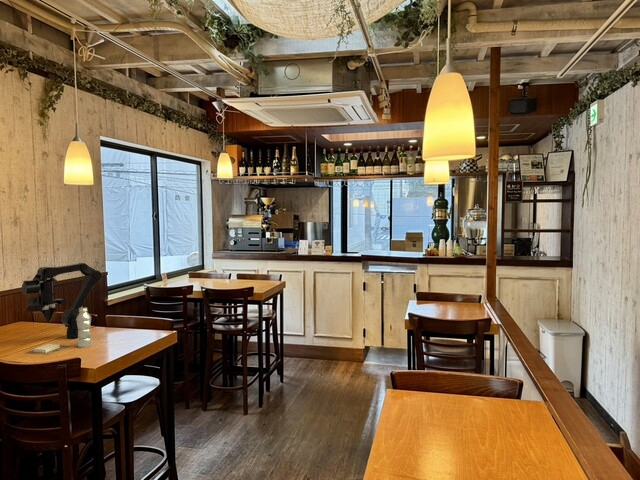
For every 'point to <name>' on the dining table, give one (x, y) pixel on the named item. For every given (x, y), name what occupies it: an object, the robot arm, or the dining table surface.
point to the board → (49, 351)
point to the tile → (46, 348)
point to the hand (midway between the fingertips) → (48, 321)
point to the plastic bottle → (84, 328)
